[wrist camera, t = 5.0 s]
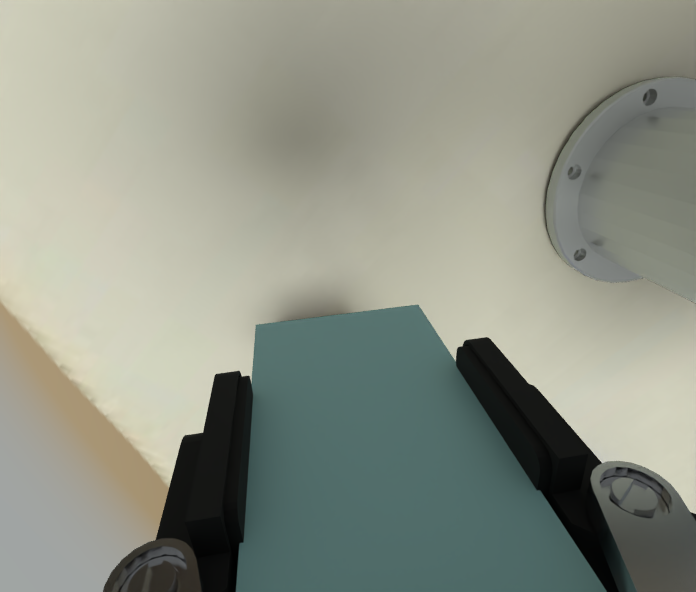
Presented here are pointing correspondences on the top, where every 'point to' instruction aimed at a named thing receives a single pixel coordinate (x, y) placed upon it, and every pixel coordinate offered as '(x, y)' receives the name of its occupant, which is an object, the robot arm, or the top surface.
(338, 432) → the tile
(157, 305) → the top surface
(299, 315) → the top surface
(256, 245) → the top surface
